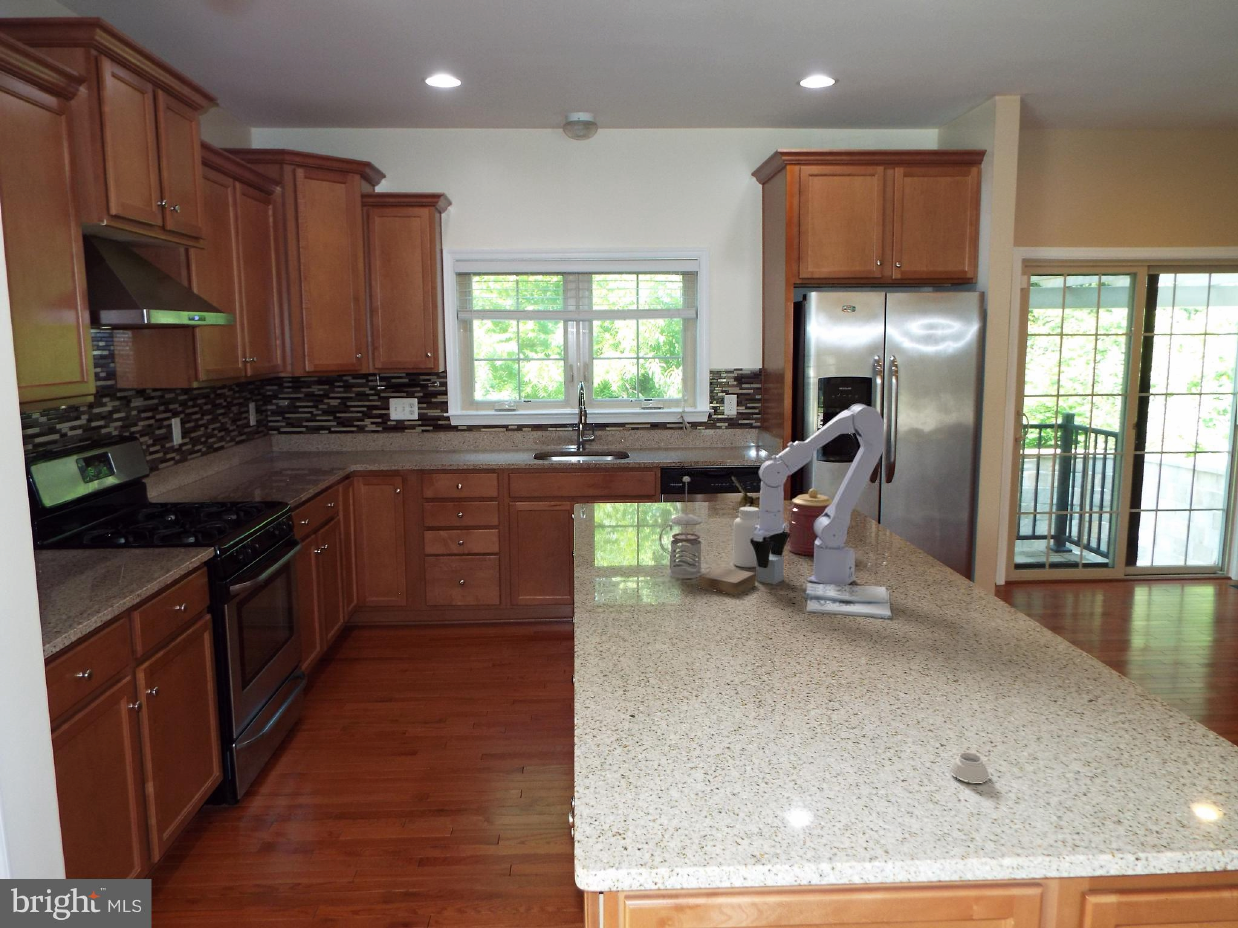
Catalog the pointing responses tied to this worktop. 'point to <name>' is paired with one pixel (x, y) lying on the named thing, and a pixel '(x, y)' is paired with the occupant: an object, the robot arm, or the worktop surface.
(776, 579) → the slate cube
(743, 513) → the pill bottle
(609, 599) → the worktop surface
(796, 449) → the robot arm
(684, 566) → the french press
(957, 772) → the upturned beige bowl
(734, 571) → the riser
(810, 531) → the canister
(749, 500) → the brass mortar and pestle
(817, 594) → the white bicycle print cloth
